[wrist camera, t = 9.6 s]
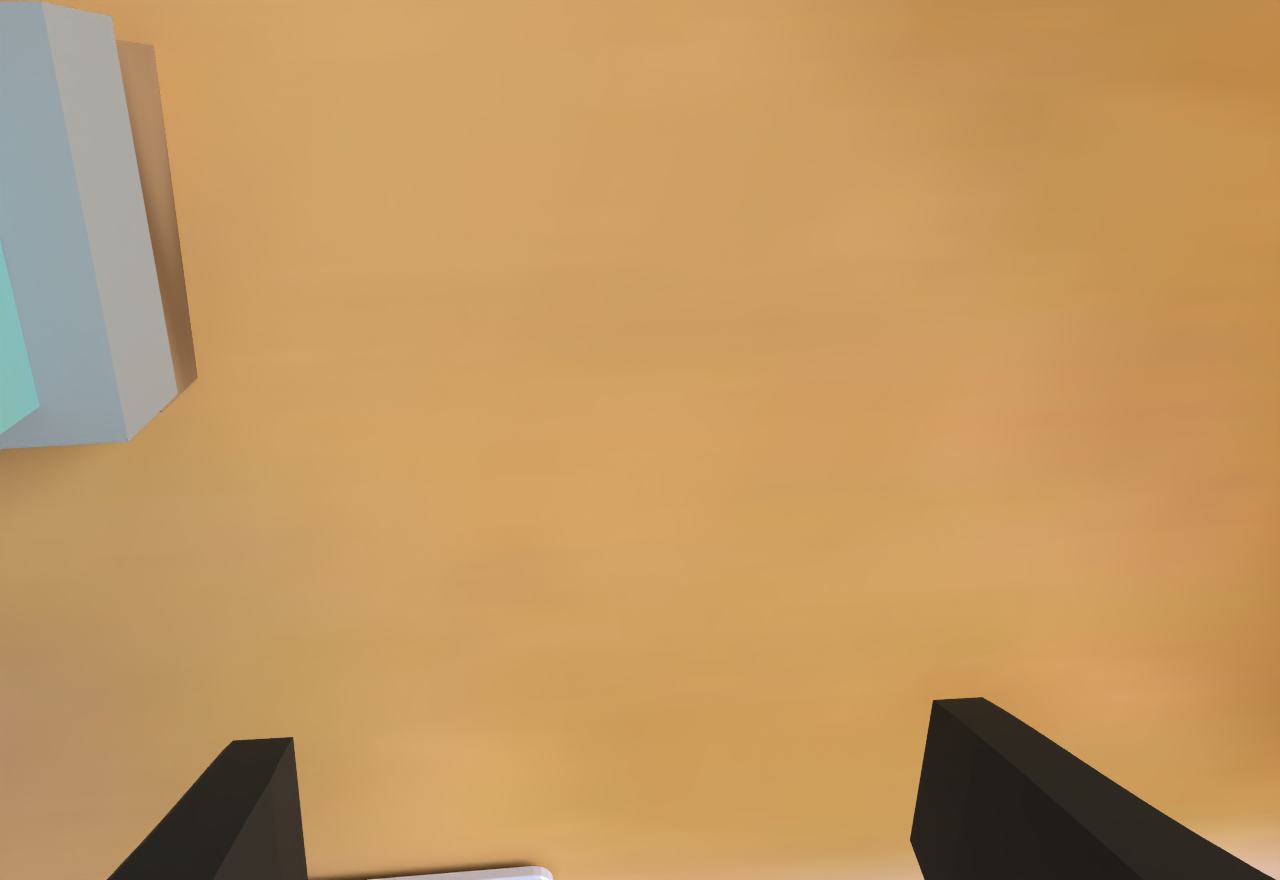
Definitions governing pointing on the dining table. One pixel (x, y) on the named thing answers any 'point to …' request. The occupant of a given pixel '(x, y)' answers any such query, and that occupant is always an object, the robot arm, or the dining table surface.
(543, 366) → the dining table surface
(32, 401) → the teal block
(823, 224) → the dining table surface
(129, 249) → the slate top slab
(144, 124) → the walnut base slab
